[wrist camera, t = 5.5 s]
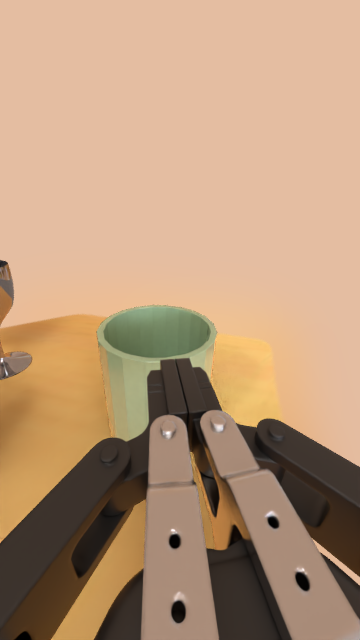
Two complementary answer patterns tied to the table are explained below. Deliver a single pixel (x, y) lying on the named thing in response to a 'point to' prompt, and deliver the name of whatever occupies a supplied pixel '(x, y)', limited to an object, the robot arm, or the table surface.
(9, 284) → the wine glass
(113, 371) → the tumbler
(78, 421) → the table surface
